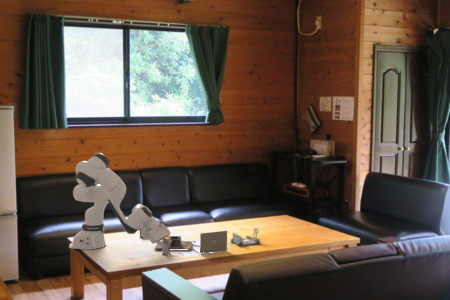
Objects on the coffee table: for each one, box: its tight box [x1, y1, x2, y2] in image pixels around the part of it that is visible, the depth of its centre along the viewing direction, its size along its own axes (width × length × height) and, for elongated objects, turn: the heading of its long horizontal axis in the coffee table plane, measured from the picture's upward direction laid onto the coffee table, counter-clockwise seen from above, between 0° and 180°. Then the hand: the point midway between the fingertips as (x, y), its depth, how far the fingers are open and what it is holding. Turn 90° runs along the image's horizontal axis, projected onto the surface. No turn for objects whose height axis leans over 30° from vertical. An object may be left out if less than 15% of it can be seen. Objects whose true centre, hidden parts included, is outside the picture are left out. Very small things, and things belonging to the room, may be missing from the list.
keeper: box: [154, 235, 194, 251], centre depth 381 cm, size 22×18×6 cm
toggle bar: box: [162, 237, 171, 256], centre depth 364 cm, size 4×4×10 cm
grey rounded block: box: [139, 226, 148, 239], centre depth 409 cm, size 17×5×10 cm, turn 125°
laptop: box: [199, 230, 228, 254], centre depth 374 cm, size 18×12×13 cm
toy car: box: [230, 227, 261, 248], centre depth 393 cm, size 18×10×12 cm
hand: (167, 244), depth 364 cm, fingers open, 8 cm apart
